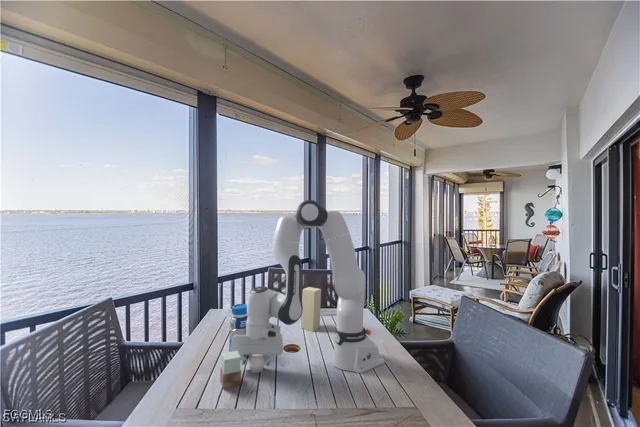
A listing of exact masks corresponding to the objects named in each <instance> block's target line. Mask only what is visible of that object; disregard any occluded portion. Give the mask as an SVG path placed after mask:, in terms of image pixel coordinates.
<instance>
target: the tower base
mask: <svg viewBox="0 0 640 427" xmlns="http://www.w3.org/2000/svg"><path fill="white" fill-rule="evenodd" d="M219 377H220V378H219V382H220V384H221V387H222V390H226V389H230V388H235V387H239V386H241V383H242V371H241V369H240V371H239V372H234V373H229V374H224V373H223V370H222V368H221V367H220V375H219Z"/></svg>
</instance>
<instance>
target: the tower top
mask: <svg viewBox="0 0 640 427" xmlns="http://www.w3.org/2000/svg"><path fill="white" fill-rule="evenodd" d="M221 368H222V370H223V373H224V374H229V373H234V372H239V371H240V370H241V359H240V355H239V353H238V351H232V352H229V351H228V352H222V353H221V366H220V369H221Z"/></svg>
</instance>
